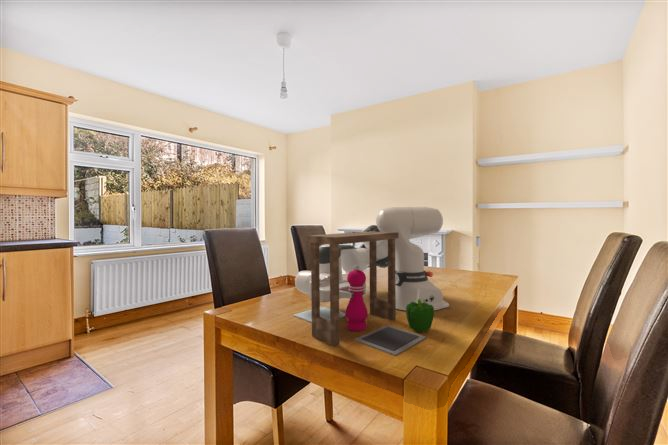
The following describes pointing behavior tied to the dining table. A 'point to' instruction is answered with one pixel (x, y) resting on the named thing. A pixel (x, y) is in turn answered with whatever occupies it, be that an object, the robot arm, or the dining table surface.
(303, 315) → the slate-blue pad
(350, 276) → the pepper mill
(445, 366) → the dining table surface
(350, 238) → the walnut tunnel
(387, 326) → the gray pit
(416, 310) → the bell pepper
